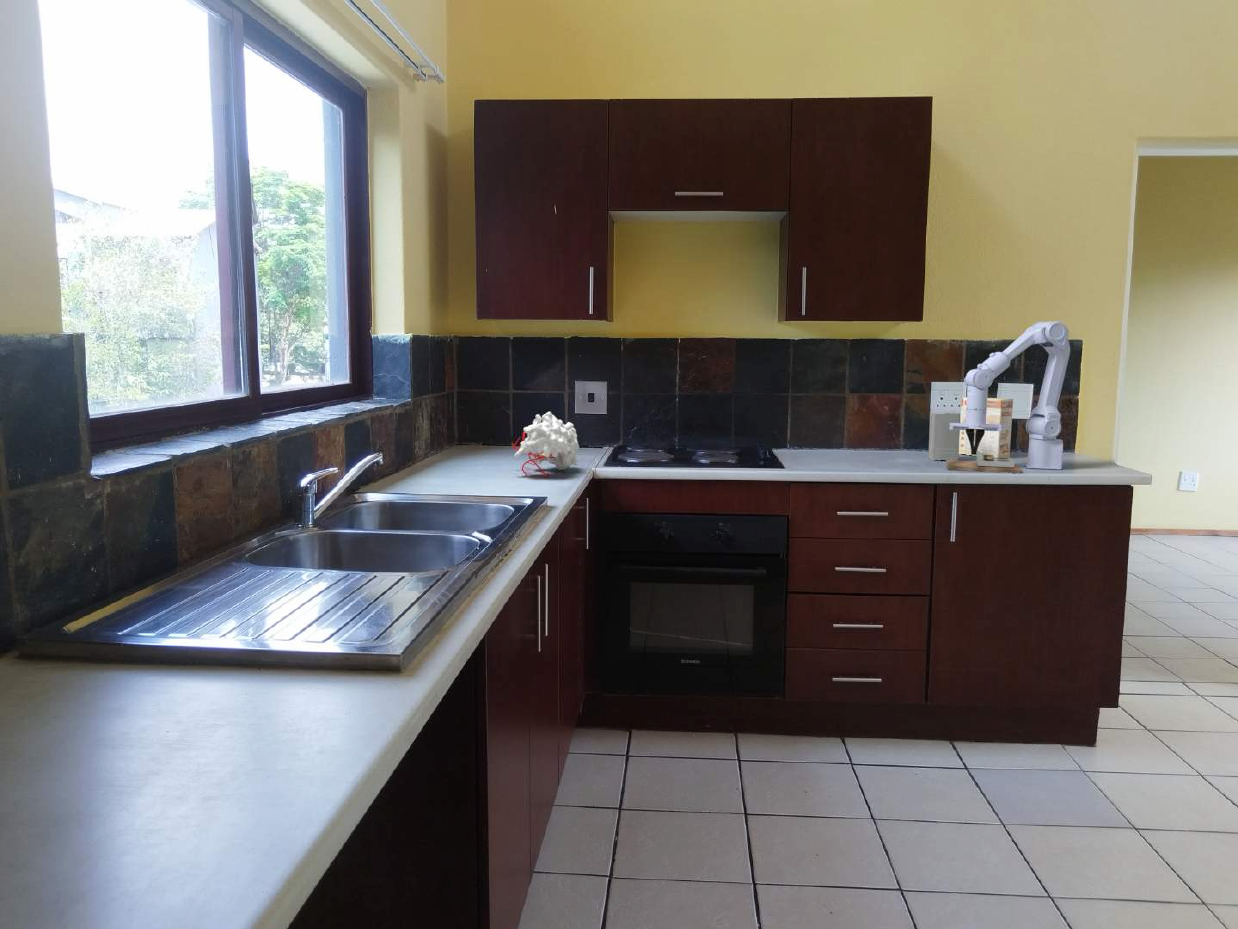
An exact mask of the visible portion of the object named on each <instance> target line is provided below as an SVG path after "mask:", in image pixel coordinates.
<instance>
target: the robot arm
mask: <svg viewBox="0 0 1238 929" xmlns="http://www.w3.org/2000/svg"><path fill="white" fill-rule="evenodd" d="M1069 332H1070V330H1069V329H1068V327H1067V326H1066V325H1065V324H1064V323H1063V322H1062V321H1060V320H1052V321H1043V320H1041V321H1037V322H1034V323H1033V324H1032V325H1031V326H1029V327H1027V328H1026V329H1025V331H1024V332H1023V333H1022V334H1021V335H1020V336H1019V337H1018V338H1016V340H1014V341H1013V342H1012V343H1010V344H1009V346H1007V348H1005V349H1004V350H1003V351H1002V352H1001V351H996V352H991V353H990V354H989V355H988V356H989V357H988V358H987V359H986V360H984V361H983V362H982V363H979V364H977V366H976V367H977V368H974V369H970V370H969V371H968V372H967V373H966V375H965V377H964V378H963V382H964V384H965V385H966V387H967V388H966V391H967V392H966V397H967V406H966V423H950V430H966V434H967V436H968V439H969V442H970V446H971V455H976V453H977V449H978V446H979V443H980V441H981V439H982V437H983V436H984V434H985V431H1000V432H1001V431H1002V425H998V424H986V413H987V398H988V397H989V396H988V395H989V387H991V385H992V384H993V382H994V379H996V378H998V376H999V375H1000V374H1002V373H1003V372H1005V371H1006V370H1007V369H1008V368H1009V367H1010V365H1011V361H1012V360H1013V359H1015V357H1017V356H1018V355H1020V354H1022V352H1024V351H1025V350H1027V349H1028V348H1029V347H1031V346H1032V345H1037V344H1038V345H1040V346H1041V347H1043V348H1044V350H1045V351H1046V352H1047V353H1048V358H1047V361H1046V362H1047V363H1046V366H1045V371H1044V375H1043V379H1042V385H1041V389H1040V393H1039V397H1038V401H1037V405H1036V406H1035V407H1034V408H1033V409H1032V410H1031V412H1030V416H1029V417H1028V419H1027V420H1026V423H1025V430H1026V432H1027V433H1028V434H1029V435H1028V437H1029V438H1028V439H1029V440H1028V452H1027V462H1026V463H1024V465H1025V467H1026V468H1027V469H1040V470H1041V469H1042V470H1043V469H1045V470H1062V466H1063V454H1064V440H1063V439H1059V438H1058V439H1057V437H1058V436H1059V434H1060V433H1061V430H1062V424H1061V417H1062V414H1061V413H1060V412H1059V409H1058V406H1059V401H1060V396H1061V392H1062V389H1063V384H1064V379H1065V376H1066V372H1067V367H1068V363H1069V358H1070V353H1071V346H1070V341H1069ZM969 427H975V428H983V429H974V428H969ZM974 430H976V431H974ZM974 437H975V445H974Z"/></svg>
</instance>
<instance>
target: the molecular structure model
mask: <svg viewBox="0 0 1238 929" xmlns="http://www.w3.org/2000/svg"><path fill="white" fill-rule="evenodd" d="M574 426H575V425H574V424H573V423H572V422H570V421H568V422H567V423H566V424H564V422H563V420H562V419H558V418H557V417H556V416H555V415H554V414H552V411H548V412H546V413H545V414H542V416H541V415H540V414H536V415H535V418H534V419H533V421H532V424H530V425H528V426H525V427H523V432H522V441H521V442H520V445H519V447H515V446H516V444H517V443H518V441H519V440H520V439H521V436H519V438H518V439H517V440H516V442H515V443H514V442H511V446H512V448H513V450H518V451H516V452H515V453H514V458H519V457H520V456H522V455H525V454H528V458H529V460H527V461H525V462H524V463H523V464H522V466H521V470H522V473H523V474H524V475H525V476H526V477H528V475H531V476H534V474H532V473H529V472H526V471H525V470H524V469H527V470H530V471H531V470H533V468H530V467H525V466H526V464H529V465H533V466H536V467H537V468H538V469H539V470H536V472H538V473H541V475H540V474H539V475H537V477H545V478H547V477H548V476H549V475H548V473H546V471H544V470H543V469H542V468H541V467H540V465H538V464H542V462H544V461H545V462H548V463H549V464H552V465H555V468H557V469H558V470H559V471H564V470H565V469H568V468H569V467H571V465H573V466H578V465H579V463H580V462H579V461H578V459H577V456H576V455H575V453H576V452H577V451H578V450H579V448H580V445H579V442H578V438H577V437H578V434H577V430H576V429H575V427H574ZM525 434H526V435H527V437H526V435H525ZM531 456H532V457H531ZM531 462H532V463H531ZM542 474H544V475H542Z"/></svg>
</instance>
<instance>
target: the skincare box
mask: <svg viewBox="0 0 1238 929" xmlns="http://www.w3.org/2000/svg"><path fill="white" fill-rule="evenodd" d="M960 418H961V412H958V411H957V410H935V411H933V410H931V411H930V412H929V434H928V435H929V436H928V438H929V439H928V459H929V460H931V461H932V460H958V461H959V456H960V454H959V435H960V430H950V423H960Z"/></svg>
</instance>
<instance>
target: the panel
mask: <svg viewBox="0 0 1238 929" xmlns="http://www.w3.org/2000/svg"><path fill="white" fill-rule="evenodd" d="M975 461H976V462H977V465H978V466H995V467H1014V464H1015V463H1016V462H1015V461H1014V460H1013V457H1010V458H1005V457H994V459H993V460H992V461H991V460H986V459H984V457H983V452H982V449H981V448H978V449H977V453H976V456H975Z"/></svg>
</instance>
